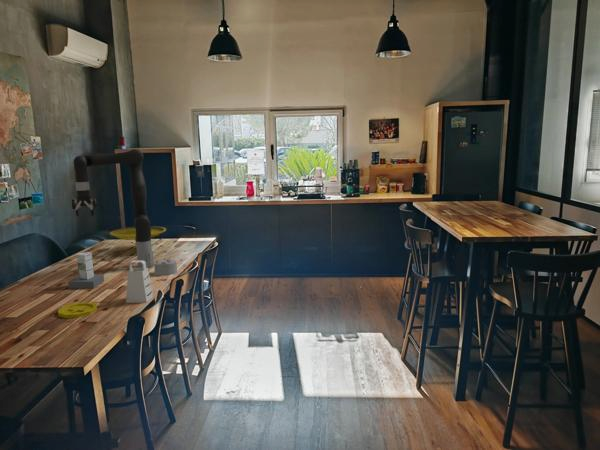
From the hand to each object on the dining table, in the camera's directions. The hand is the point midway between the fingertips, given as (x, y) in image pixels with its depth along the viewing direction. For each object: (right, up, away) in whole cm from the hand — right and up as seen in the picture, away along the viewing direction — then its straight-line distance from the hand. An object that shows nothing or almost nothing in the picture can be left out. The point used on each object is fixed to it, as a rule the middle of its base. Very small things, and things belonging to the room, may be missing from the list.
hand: (85, 215), depth 285 cm
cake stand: (+11, -25, +64) cm, 70 cm away
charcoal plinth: (+9, -40, -18) cm, 44 cm away
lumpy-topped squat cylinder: (+48, -35, +3) cm, 60 cm away
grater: (+48, -44, -44) cm, 79 cm away
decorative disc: (+24, -48, -60) cm, 81 cm away
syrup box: (+9, -36, -19) cm, 41 cm away
